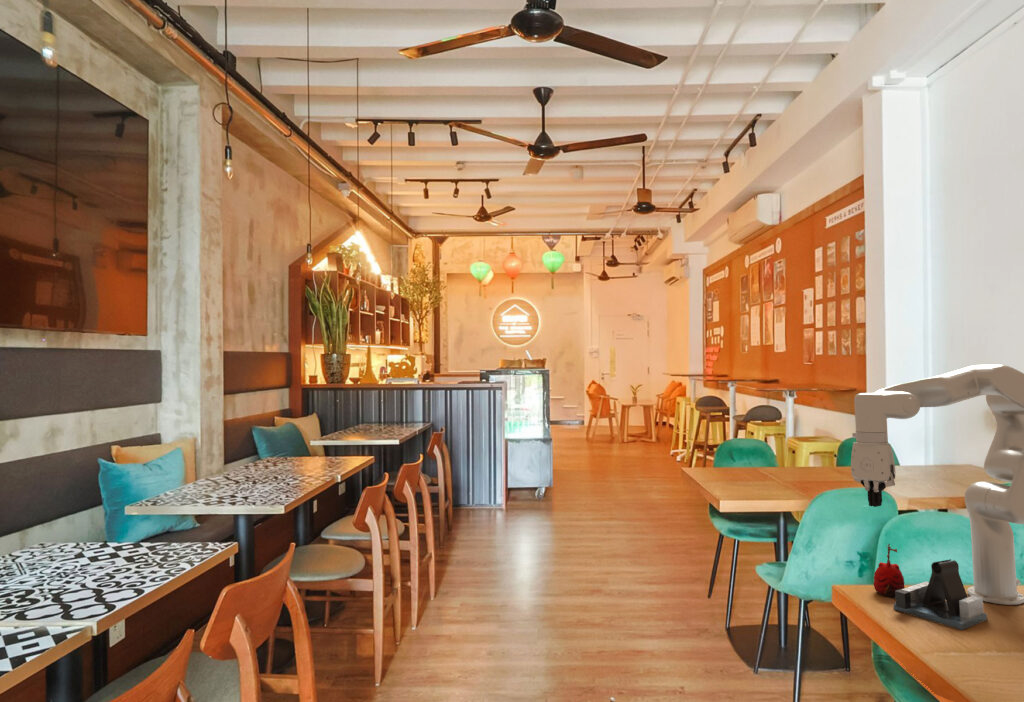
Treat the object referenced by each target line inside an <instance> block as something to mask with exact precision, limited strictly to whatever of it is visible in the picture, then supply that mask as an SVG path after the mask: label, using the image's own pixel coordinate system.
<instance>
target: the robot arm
mask: <svg viewBox="0 0 1024 702" xmlns="http://www.w3.org/2000/svg"><path fill="white" fill-rule="evenodd" d="M980 396H985V401H986V404H987V406H988V407H989V409H990V410H991V412H992V414H993V416H994V419H995V422H996V428H995V429H996V430H995V432H994V435H993V438H992V441H991V444H990V446H989V448H988V451H987V454H986V457H985V459H984V463H983V464H984V465H983V469H984V472H985V473H986V474H987V475H988V476H989V477H991V478H993V479H995V480H999V481H1003V482H1007V483H1010V485H1007V484H1003V483H997V482H992V481H976V482H973V483H971V484H970V485H969V486H968V487H967V488H966V490H965V492H964V505H965V508H966V510H967V514H968V518H969V519H968V520H969V526H970V537H971V538H970V541H971V554H972V555H971V556H972V557H971V558H972V571H973V572H972V577H973V585H972V586H968V588H967V595H969V597H970V596H973V595H975V596H979V597H983V602H985V603H990V604H991V603H992V604H997V605H1007V606H1014V605H1015V606H1016V605H1021V604H1024V595H1023V594H1021V593H1020V592H1018V586H1020V585H1021V581H1020V579H1019V578H1017V572H1016V570H1017V569H1016V553H1015V537H1014V531H1013V529H1012V527H1011V526H1012V525H1011V524H1017V525H1024V372H1021V371H1020V370H1018V369H1016V368H1013V367H1011V366H1009V365H1006V364H1001V363H1000V364H999V363H997V364H995V363H993V364H991V363H990V364H974V365H969V366H966V367H962V368H960V369H959V368H958V369H956V370H953V371H949V372H945V373H943V374H939V375H935V376H932V377H931V376H930V377H926V378H921V379H917V380H914V381H908V382H904V383H903V382H902V383H898V384H894V385H891V386H887V387H885V388H880V389H878V390H875V391H873V392H860V393H857V394H856V395H854V397H853V398H854V401H853V402H854V417H855V418H854V419H855V420H854V421H855V432H852V433H851V435H852V438H855V440H856V441H854V442H853V444H852V447H851V448H852V449H851V456H850V457H851V459H850V475H851V476H852V478H853V480H854V482H856V483H858V484H861V485H862V486H863V487H864V490H865V491H866V492H867V502H868V506H869V507H873V508H877V507H881V506H882V504H883V494H882V493H883V491H884V490H885V489H886V488H888V487H889V488H890V487H894V486H895V485H896V483H895V479H896V463H895V458H894V453H893V449H892V445H891V443H889V441H888V439H889V438H888V437H889V435H888V419H895V420H896V419H897V420H907V419H912V418H913V417H915V416H916V415H917V414H918V413H919V411H921V410H920V409H921V408H937V407H938V408H939V407H946V406H950V405H953V404H954V405H955V404H957V403H961V402H963V401H966V400H970V399H973V398H976V397H977V398H978V397H980ZM1010 523H1011V524H1010Z"/></svg>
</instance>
